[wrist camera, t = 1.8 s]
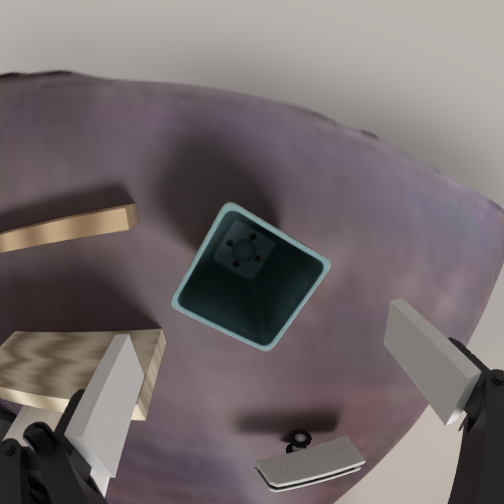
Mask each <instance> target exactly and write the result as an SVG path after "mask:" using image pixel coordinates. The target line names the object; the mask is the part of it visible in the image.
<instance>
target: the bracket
mask: <svg viewBox="0 0 504 504" xmlns="http://www.w3.org/2000/svg"><path fill="white" fill-rule="evenodd" d="M311 440H312V438H311V435H310V434H309V433H308V432H306V431H304V430H296V431H294V432H292V433H291V435H290V437H289V441H290V442H291V444H289V445H287V448H286V453H287V454H284V455H280V456H276V457H272V458H268V459H263V460H258V461H256V462H255V464H256V466H257V467H255V468H254V469H255V471H256V473H257V474H258V475H259V477H260V478H261V480H262V481H263V483H264V484H265V485H266V487H267V488H268V489H269V490H270V491H272V492H280V491H285V490H290V489H294V488H299V487H303V486H307V485H311V484H315V483H319V482H322V481H326V480H329V479H333V478H336V477H339V476H342V475H345V474H348V473H351V472H354V471H357V470H359V469H360V468H361V467H360V465H361V464H364V463H365V459H364V458H363V457H362V455H361V454H360V453H359V451H358V450H357V449H356V447H355V446H354V445H353V443H352V442H351V441H350V439H349V438H348V437H347V435H345V436H343V437H340V438H337V439H334V440H331V441H328V442H325V443H322V444H319V445H316V446H313V447H310V448H306V446H307V445H309V444H310V442H311Z"/></svg>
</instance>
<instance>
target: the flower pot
mask: <svg viewBox="0 0 504 504" xmlns="http://www.w3.org/2000/svg"><path fill="white" fill-rule="evenodd" d="M251 234H254V235H255V238H254V239H251V238H250V235H251ZM228 240H232V241H233V243H232V244H231V245H229V244H228V243H227V242H228ZM256 256H260V257H261V259H260V260H258V261H257V260H256ZM234 262H238V263H239V265H238V266H235V265H234ZM330 266H331V262H330V261H329V260H328V259H327V258H326V257H324V256H322V255H321V254H319V253H318V252H316V251H314V250H313V249H311V248H310V247H308V246H307V245H305V244H303V243H301V242H300V241H298V240H296V239H295V238H293V237H291V236H289V235H288V234H286V233H284V232H283V231H281V230H279V229H277V228H276V227H274V226H272V225H271V224H269V223H267V222H266V221H264V220H262V219H261V218H259V217H257V216H256V215H254V214H252V213H251V212H249V211H248V210H246V209H244V208H243V207H241V206H240V205H238V204H236V203H234V202H227V203H225V204H224V205H223V207H222V208H221V210H220V211H219V213H218V215H217V217H216V219H215V221H214V222H213V224H212V226H211V228H210V230H209V231H208V233H207V235H206V237H205V239H204V240H203V242H202V244H201V246H200V248H199V249H198V251H197V253H196V255H195V257H194V258H193V260H192V262H191V264H190V266H189V268H188V269H187V271H186V273H185V275H184V277H183V279H182V280H181V282H180V284H179V286H178V288H177V289H176V291H175V293H174V294H173V296H172V298H171V305H172V307H173V308H175V309H176V310H178V311H180V312H182V313H184V314H186V315H188V316H190V317H192V318H194V319H196V320H198V321H200V322H202V323H204V324H206V325H208V326H210V327H212V328H215V329H217V330H219V331H221V332H223V333H225V334H227V335H230V336H232V337H234V338H236V339H238V340H240V341H242V342H245V343H247V344H249V345H251V346H253V347H256V348H258V349H260V350H264V351H269V350H270V349H272V348H273V347H274V346H275V344H276V343H277V342H278V340H279V339H280V338H281V336H282V335H283V334H284V332H285V331H286V329H287V328H288V326H289V325H290V324H291V322H292V321H293V319H294V318H295V317H296V315H297V314H298V313H299V311H300V310H301V308H302V307H303V306H304V304H305V303H306V302H307V300H308V299H309V297H310V296H311V295H312V294H313V292H314V291H315V289H316V288H317V286H318V285H319V283H320V282H321V281H322V279H323V278H324V276H325V275H326V273H327V272H328V270H329V268H330Z"/></svg>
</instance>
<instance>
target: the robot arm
mask: <svg viewBox="0 0 504 504" xmlns="http://www.w3.org/2000/svg"><path fill="white" fill-rule="evenodd" d="M384 345H385V347H386V348H387V349H388V350H389V352H390V353H391V354H392V355H393V357H394V358H395V359H396V361H397V362H398V363H399V364H400V366H401V367H402V368H403V370H404V371H405V372H406V373H407V375H408V376H409V377H410V379H411V380H412V381H413V383H414V384H415V385H416V387H417V388H418V389H419V391H420V392H421V393H422V395H423V396H424V397H425V399H426V400H427V401H428V403H429V404H430V405H431V407H432V408H433V409H434V411H435V412H436V414H437V415H438V416H439V418H440V419H441V420H442V422H443V423H444V425H445V426H446V425H448V424H450V423H452V422H454V421H456V420H458V419H459V417H460V415H461V413H462V412H463V410H464V411H465V412H466V413H467V415H466V417H465V419H464V420H463V422H462V424H461V426H460V428H459V430H458V431H460V430H461V429H462V428H463V426H464V429H463V437H462V443H461V449H460V455H459V460H458V465H457V470H456V474H455V478H454V483H453V486H452V490H451V494H450V498H449V501H448V504H504V371H503V370H499V369H493V370H489V369H488V368H487V367H486V366H485V365H484V364H483V363H482V362H481V361H480V360H479V359H478V358H477V357H476V356H475V355H474V354H471V352H470V351H469V350H468V349H466V347H465V346H464V345H463V344H462V343H461V342H459V341H457V340H455V339H453V338H451V337H450V338H448V339H447V338H446V337H445V336H444V335H443V334H442V333H441V332H439V331H438V330H437V329H436V328H435V327H434V326H433V325H432V324H431V323H429V322H428V321H427V320H426V319H425V318H424V317H423V316H422V315H421V314H419V313H418V312H417V311H416V310H415V309H414V308H413V307H411V306H410V305H409V304H408V303H407V302H406V301H404V300H403V299H402V298H401V299H396V300H391V301H390V304H389V312H388V319H387V326H386V332H385V339H384ZM143 379H144V374H143V371H142V369H141V366H140V363H139V361H138V358H137V355H136V352H135V350H134V347H133V344H132V341H131V338H130V335H129V334H116V335H115V336H114V338H113V340H112V342H111V343H110V345H109V347H108V349H107V351H106V352H105V354H104V356H103V358H102V360H101V362H100V363H99V365H98V367H97V369H96V371H95V373H94V375H93V377H92V378H91V380H90V382H89V384H88V386H87V388H86V389H79V390H78V391H77V392H76V393H75V394H74V395H72V397H71V399H70V401H69V403H68V406H66V408H65V410H64V413H63V414H62V416H61V418H60V420H59V422H58V424H57V426H56V428H55V430H54V432H53V431H52V429H51V428H50V427H49V425H48V424H46V423H45V422H39V421H38V422H34V423H32V424H30V425H29V426H28V427H27V428H26V429H25V431H24V433H23V440H24V441H25V442H26V444H27V445H28V446H22V445H21V444H20V443H19V442H18V441H17V440H16V439H14V438H8V439H5V440H4V441H3V439H4V437H5V436H6V434H7V432H8V431H9V429H10V427H11V425H12V424H13V422H14V420H15V419H16V417H15V416H13V415H11V414H8V413H1V414H0V504H108V503H107V501H106V500H105V498H104V496H103V495H102V493H101V491H100V490H99V488H98V486H97V484H96V483H95V481H94V479H93V478H92V476H91V475H90V472H91V469H93V470H94V471H95V472H96V473H97V474H98V475H101V476H106V477H112V478H115V476H116V472H117V468H118V464H119V461H120V457H121V453H122V449H123V446H124V442H125V438H126V435H127V431H128V428H129V424H130V421H131V418H132V414H133V411H134V408H135V404H136V401H137V398H138V395H139V392H140V388H141V385H142V382H143Z"/></svg>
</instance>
